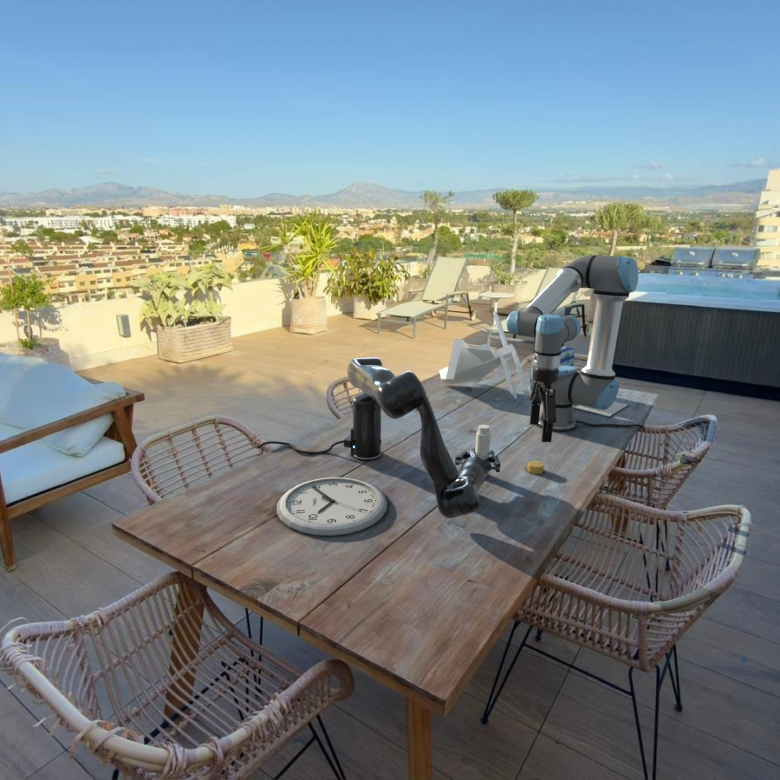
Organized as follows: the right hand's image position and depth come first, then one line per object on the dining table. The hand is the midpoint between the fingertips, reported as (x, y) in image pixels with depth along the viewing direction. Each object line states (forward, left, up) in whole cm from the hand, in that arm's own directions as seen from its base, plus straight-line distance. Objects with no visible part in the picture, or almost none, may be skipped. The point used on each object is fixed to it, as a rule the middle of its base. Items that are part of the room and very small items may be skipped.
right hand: (539, 432), depth 163 cm
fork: (+40, -55, -13) cm, 69 cm away
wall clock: (+59, +32, -13) cm, 68 cm away
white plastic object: (+14, -79, -13) cm, 81 cm away
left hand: (+17, +4, -6) cm, 19 cm away
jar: (+18, +7, -13) cm, 23 cm away
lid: (0, +1, -11) cm, 11 cm away
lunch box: (-19, -88, -13) cm, 91 cm away
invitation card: (-37, -67, -13) cm, 78 cm away
